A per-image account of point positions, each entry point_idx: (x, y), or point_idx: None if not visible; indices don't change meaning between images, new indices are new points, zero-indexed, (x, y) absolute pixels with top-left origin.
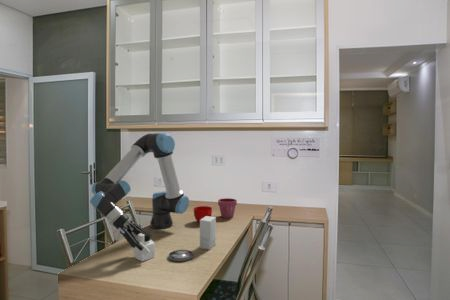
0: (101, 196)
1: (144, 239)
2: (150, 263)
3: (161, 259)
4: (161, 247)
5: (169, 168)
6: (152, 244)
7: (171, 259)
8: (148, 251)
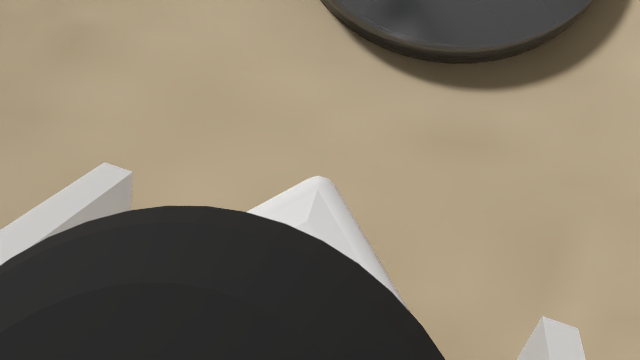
0: None
1: None
2: None
3: (450, 156)
4: (10, 99)
5: None
6: (357, 227)
7: (551, 32)
8: (579, 356)
